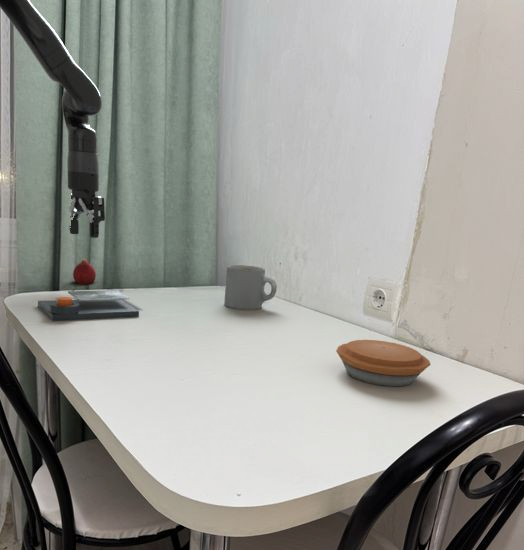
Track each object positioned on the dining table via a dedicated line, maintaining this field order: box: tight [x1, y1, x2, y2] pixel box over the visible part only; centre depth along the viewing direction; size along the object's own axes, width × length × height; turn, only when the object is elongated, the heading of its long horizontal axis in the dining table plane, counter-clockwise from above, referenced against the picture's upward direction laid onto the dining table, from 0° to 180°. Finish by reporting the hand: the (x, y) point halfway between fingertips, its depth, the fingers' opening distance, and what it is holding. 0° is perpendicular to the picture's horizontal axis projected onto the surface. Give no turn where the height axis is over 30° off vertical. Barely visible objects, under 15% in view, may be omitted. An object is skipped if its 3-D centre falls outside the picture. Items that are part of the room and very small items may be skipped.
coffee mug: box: [223, 264, 277, 311], centre depth 132 cm, size 13×10×10 cm
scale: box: [37, 299, 140, 322], centre depth 111 cm, size 18×14×3 cm
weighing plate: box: [67, 289, 130, 301], centre depth 114 cm, size 11×9×1 cm
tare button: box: [56, 296, 73, 306], centre depth 104 cm, size 3×3×2 cm
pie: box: [335, 339, 431, 387], centre depth 86 cm, size 15×16×5 cm
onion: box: [72, 258, 97, 285], centre depth 136 cm, size 6×6×8 cm
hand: (84, 235), depth 134 cm, fingers open, 8 cm apart
